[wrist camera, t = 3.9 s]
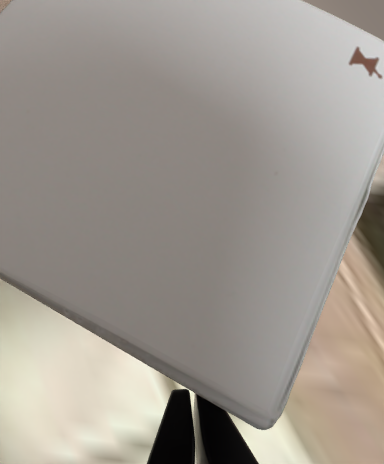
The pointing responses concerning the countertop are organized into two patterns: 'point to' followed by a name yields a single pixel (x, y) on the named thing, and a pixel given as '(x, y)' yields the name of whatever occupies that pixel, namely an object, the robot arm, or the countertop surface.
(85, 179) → the supplement box
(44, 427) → the countertop surface
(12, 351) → the countertop surface
